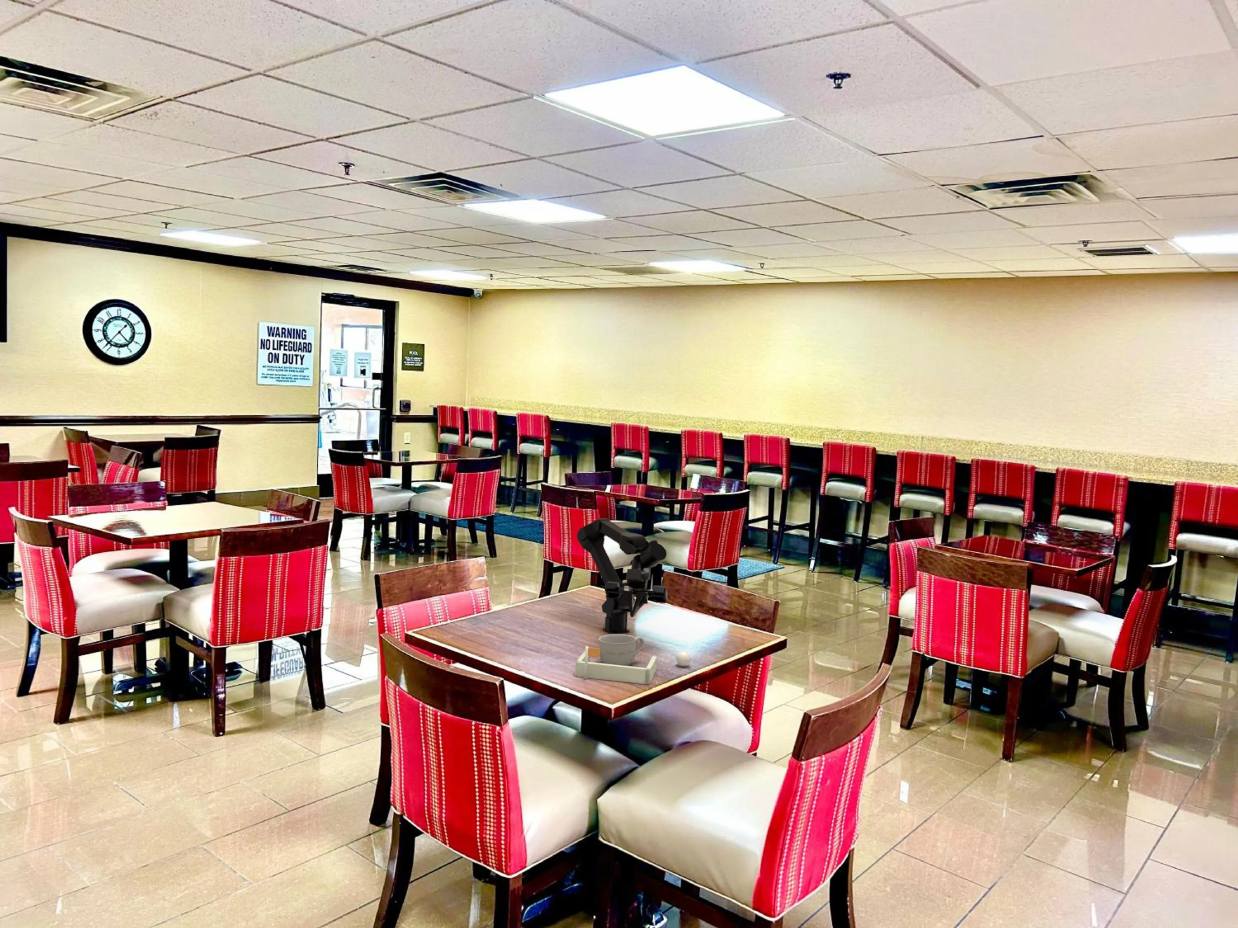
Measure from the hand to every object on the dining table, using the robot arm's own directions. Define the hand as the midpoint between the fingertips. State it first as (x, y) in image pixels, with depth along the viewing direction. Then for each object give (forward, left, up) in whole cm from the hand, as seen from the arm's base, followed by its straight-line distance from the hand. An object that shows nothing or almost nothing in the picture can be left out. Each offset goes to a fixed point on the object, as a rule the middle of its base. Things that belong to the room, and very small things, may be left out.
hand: (631, 616), depth 260 cm
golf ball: (-7, +17, -9) cm, 20 cm away
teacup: (+8, +8, -11) cm, 16 cm away
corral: (+15, +14, -11) cm, 23 cm away
